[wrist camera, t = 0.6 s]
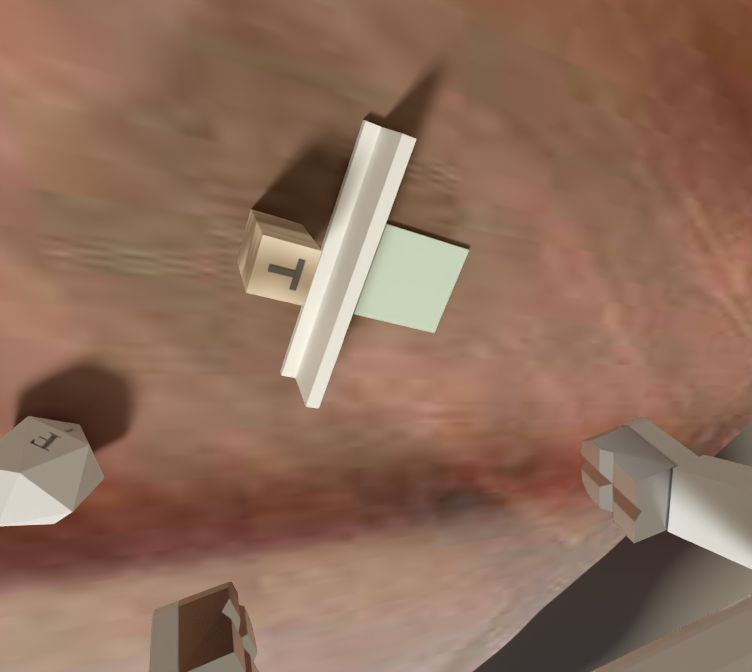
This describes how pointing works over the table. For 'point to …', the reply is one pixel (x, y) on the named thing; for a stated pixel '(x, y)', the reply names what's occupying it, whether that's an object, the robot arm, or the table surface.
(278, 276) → the birch block
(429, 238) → the sage mat
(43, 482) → the die
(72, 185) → the table surface
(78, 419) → the table surface
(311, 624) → the table surface
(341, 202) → the white shelf
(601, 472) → the robot arm
